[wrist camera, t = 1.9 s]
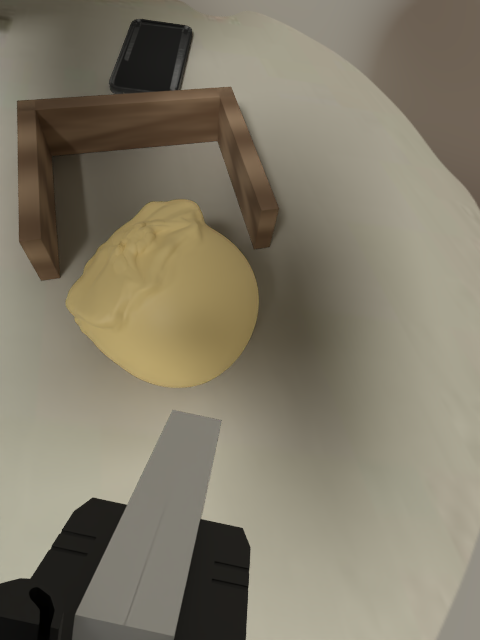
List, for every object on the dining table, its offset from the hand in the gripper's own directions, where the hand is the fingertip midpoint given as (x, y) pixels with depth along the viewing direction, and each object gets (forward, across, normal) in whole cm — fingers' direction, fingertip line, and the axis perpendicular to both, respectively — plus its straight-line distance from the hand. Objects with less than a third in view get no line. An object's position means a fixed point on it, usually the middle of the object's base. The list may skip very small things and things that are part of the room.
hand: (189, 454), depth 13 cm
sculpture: (+21, -4, -3) cm, 22 cm away
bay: (+30, -11, +6) cm, 32 cm away
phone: (+46, -17, +22) cm, 54 cm away
